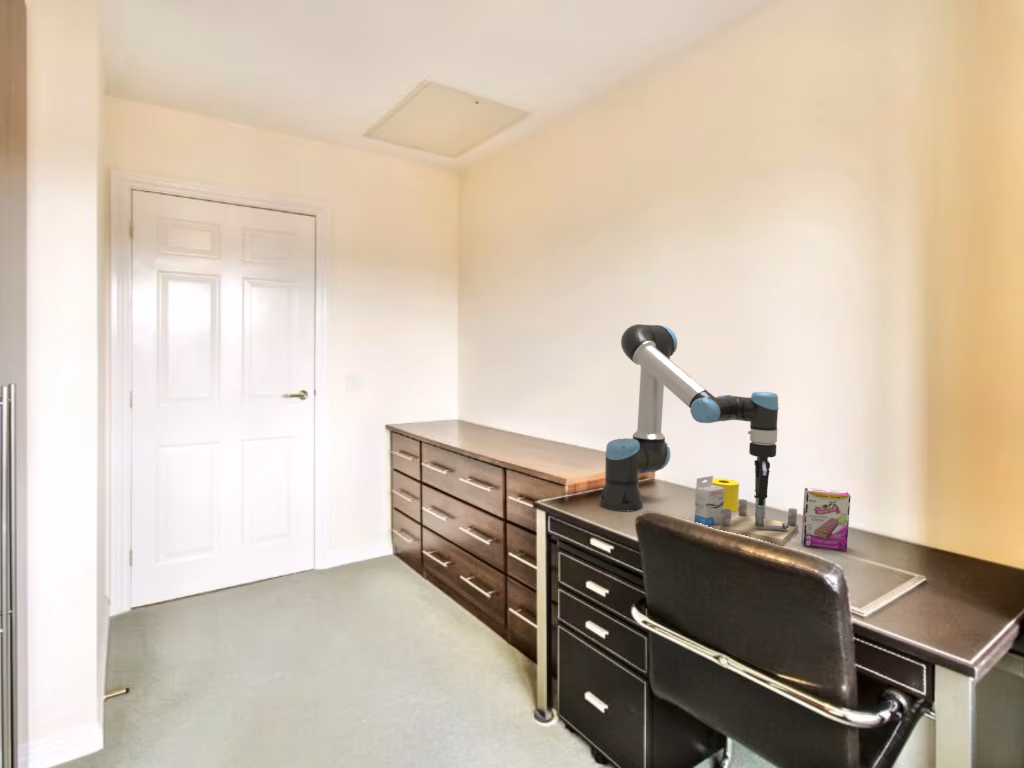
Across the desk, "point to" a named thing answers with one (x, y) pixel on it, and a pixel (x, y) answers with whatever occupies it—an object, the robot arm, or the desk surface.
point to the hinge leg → (760, 520)
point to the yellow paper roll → (728, 492)
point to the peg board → (747, 526)
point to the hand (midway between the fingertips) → (759, 518)
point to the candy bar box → (825, 519)
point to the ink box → (708, 502)
